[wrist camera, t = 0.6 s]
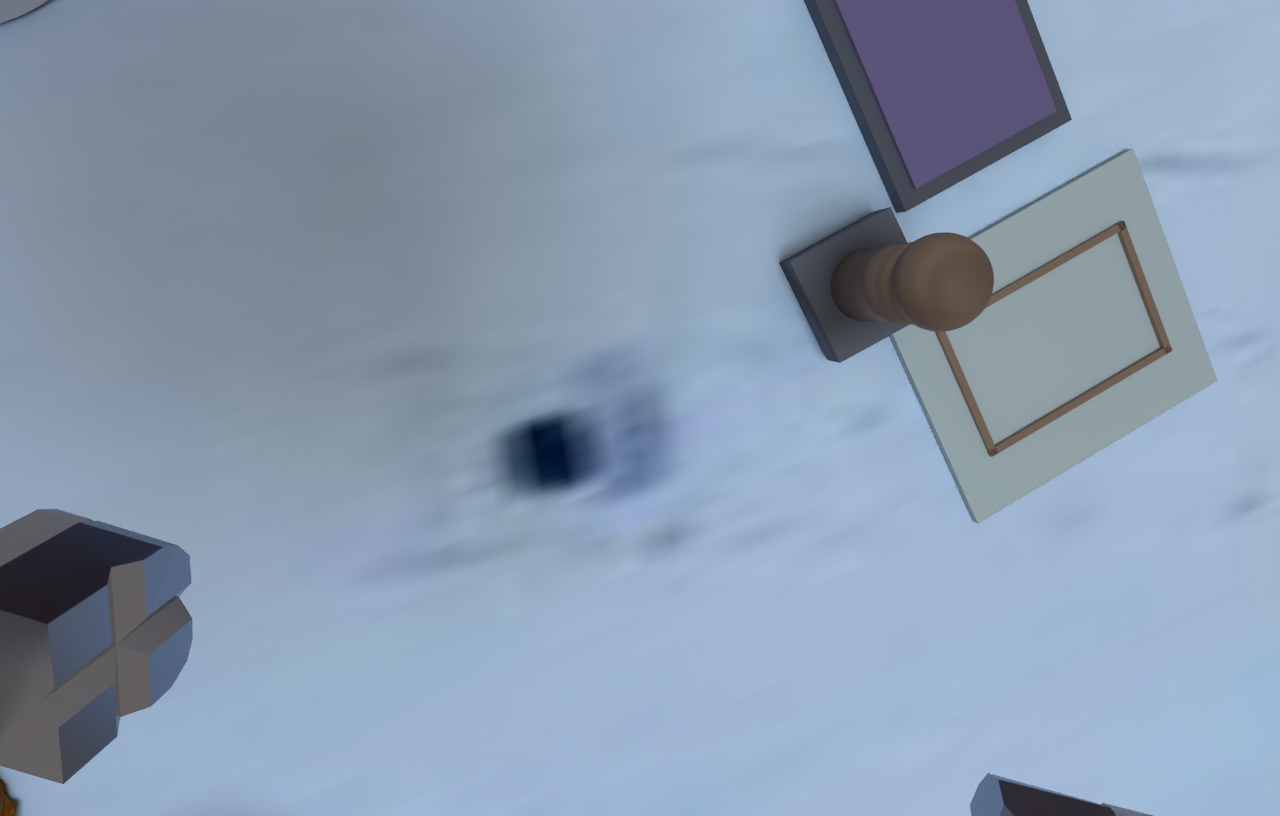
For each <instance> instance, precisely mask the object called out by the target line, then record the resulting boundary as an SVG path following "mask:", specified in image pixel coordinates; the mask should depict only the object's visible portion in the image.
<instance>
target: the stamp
mask: <svg viewBox="0 0 1280 816" xmlns="http://www.w3.org/2000/svg"><path fill="white" fill-rule="evenodd" d="M780 265H781V267H782V269H783V271H784V273H785V275H786V277H787V279H788V281H789V283H790V285H791V287H792V289H793V291H794V293H795V295H796V297H797V299H798V301H799V303H800V305H801V308H802V310H803V312H804V314H805V316H806V318H807V320H808V322H809V324H810V326H811V328H812V330H813V332H814V334H815V336H816V338H817V340H818V342H819V344H820V346H821V348H822V350H823V352H824V354H825V356H826V358H827V360H830V361H835V362H839V363H840V362H842V361H844V360H846V359H848V358H849V357H851V356H853V355H855V354H857V353H859V352H860V351H862V350H864V349H866V348H868V347H870V346H871V345H873V344H875V343H877V342H879V341H881V340H882V339H884V338H886V337H888V336H890V335H892V334H893V333H895V332H897V331H899V330H901V329H903V328H904V327H906V326H908V325H915V326H917V327H919V328H922V329H925V330H929V331H935V332H944V331H951V330H955V329H958V328H961V327H963V326H965V325H967V324H969V323H970V322H972V321H973V320H974V319H976V318H977V317H978V316H979V315H980V314H981V313H982V312H983V310H984V309H985V308H986V306H987V304H988V302H989V300H990V298H991V295H992V292H993V287H994V273H993V268H992V265H991V262H990V260H989V258H988V256H987V254H986V253H985V252H984V250H983V249H982V248H981V247H980V246H979V245H978V244H976V243H975V242H974V241H972V240H971V239H969V238H967V237H965V236H962V235H959V234H955V233H934V234H930V235H927V236H924V237H922V238H920V239H918V240H916V241H914V242H911V243H907V241H906V239H905V237H904V235H903V233H902V231H901V229H900V227H899V224H898V222H897V220H896V218H895V216H894V214H893V212H892V209H891V207H889V208H885V209H882V210H878V211H875V212H873V213H871V214H869V215H868V216H866V217H864V218H862V219H860V220H858V221H856V222H855V223H853V224H851V225H849V226H847V227H845V228H843V229H842V230H840V231H838V232H836V233H834V234H832V235H830V236H829V237H827V238H825V239H823V240H821V241H819V242H818V243H816V244H814V245H812V246H810V247H808V248H806V249H805V250H803V251H801V252H799V253H797V254H795V255H793V256H792V257H790V258H788V259H786V260H784V261H782V262H780Z"/></svg>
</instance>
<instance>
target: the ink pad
mask: <svg viewBox="0 0 1280 816" xmlns="http://www.w3.org/2000/svg"><path fill="white" fill-rule="evenodd" d="M804 1H805V3H806V6H807V8H808V10H809V12H810V15H811V17H812V19H813V22H814V24H815V26H816V29H817V31H818V33H819V35H820V38H821V40H822V42H823V45H824V47H825V49H826V52H827V54H828V56H829V59H830V61H831V63H832V65H833V68H834V70H835V72H836V75H837V77H838V79H839V82H840V84H841V86H842V88H843V91H844V93H845V95H846V98H847V100H848V102H849V105H850V107H851V109H852V112H853V114H854V116H855V118H856V121H857V123H858V125H859V128H860V130H861V132H862V135H863V137H864V139H865V141H866V144H867V146H868V148H869V151H870V153H871V155H872V158H873V160H874V162H875V165H876V167H877V169H878V171H879V174H880V176H881V178H882V181H883V183H884V185H885V188H886V190H887V192H888V194H889V197H890V199H891V201H892V204H893V206H894V208H895V211H896V213H898V212H905V211H907V210H909V209H911V208H913V207H915V206H917V205H918V204H920V203H922V202H924V201H926V200H927V199H929V198H931V197H933V196H935V195H936V194H938V193H940V192H942V191H944V190H945V189H947V188H949V187H951V186H953V185H955V184H956V183H958V182H960V181H962V180H964V179H965V178H967V177H969V176H971V175H973V174H974V173H976V172H978V171H980V170H982V169H983V168H985V167H987V166H989V165H991V164H992V163H994V162H996V161H998V160H1000V159H1002V158H1003V157H1005V156H1007V155H1009V154H1011V153H1012V152H1014V151H1016V150H1018V149H1020V148H1021V147H1023V146H1025V145H1027V144H1029V143H1030V142H1032V141H1034V140H1036V139H1038V138H1039V137H1041V136H1043V135H1045V134H1047V133H1049V132H1050V131H1052V130H1054V129H1056V128H1058V127H1059V126H1061V125H1063V124H1065V123H1067V122H1068V121H1070V120H1072V119H1071V116H1070V114H1069V111H1068V108H1067V106H1066V103H1065V100H1064V98H1063V95H1062V92H1061V90H1060V87H1059V84H1058V82H1057V79H1056V76H1055V74H1054V71H1053V68H1052V66H1051V63H1050V61H1049V58H1048V55H1047V53H1046V50H1045V47H1044V45H1043V42H1042V39H1041V37H1040V34H1039V31H1038V29H1037V26H1036V23H1035V21H1034V18H1033V15H1032V13H1031V10H1030V7H1029V5H1028V2H1027V0H804Z"/></svg>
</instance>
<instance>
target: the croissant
mask: <svg viewBox="0 0 1280 816" xmlns="http://www.w3.org/2000/svg"><path fill="white" fill-rule="evenodd" d="M14 812H15V803H12V801H11V800H10V799H8V798H7V795H4V784H3V781H2V780H1V779H0V816H14Z"/></svg>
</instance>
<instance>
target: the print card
mask: <svg viewBox="0 0 1280 816" xmlns="http://www.w3.org/2000/svg"><path fill="white" fill-rule="evenodd" d="M969 239H971V240H972V241H974V242H975V243H976V244H978V245H979V246H980V247H981V248H982V249H983V250H984V252H985V253H986V254H987V256H988V258H989V260H990V262H991V265H992V268H993V273H994V287H993V292H992V295H991V298H990V300H989V302H988V304H987V306H986V308H985V309H984V310H983V312H982V313H981V314H980V315H979V316H978V317H977V318H976V319H974V320H973V321H972V322H970V323H969V324H967V325H965V326H963V327H961V328H958V329H955V330H951V331H944V332H935V331H929V330H925V329H922V328H919V327H917V326H915V325H908V326H906V327H904V328H903V329H901V330H899V331H897V332H895V333H893V334H892V335H890V338H891V341H892V343H893V345H894V347H895V349H896V352H897V354H898V356H899V358H900V361H901V363H902V365H903V367H904V369H905V372H906V374H907V376H908V378H909V380H910V383H911V385H912V387H913V389H914V392H915V394H916V396H917V398H918V400H919V403H920V405H921V407H922V409H923V412H924V414H925V416H926V418H927V420H928V423H929V425H930V427H931V429H932V431H933V434H934V436H935V438H936V440H937V443H938V445H939V447H940V449H941V451H942V454H943V456H944V458H945V460H946V463H947V465H948V467H949V469H950V471H951V474H952V476H953V478H954V480H955V482H956V485H957V487H958V489H959V491H960V494H961V496H962V498H963V500H964V502H965V505H966V507H967V509H968V511H969V514H970V516H971V518H972V520H973V521H974V522H976V523H980V522H981V521H983V520H985V519H986V518H988V517H990V516H991V515H993V514H995V513H997V512H998V511H1000V510H1002V509H1003V508H1005V507H1007V506H1008V505H1010V504H1012V503H1013V502H1015V501H1017V500H1018V499H1020V498H1022V497H1023V496H1025V495H1027V494H1028V493H1030V492H1032V491H1033V490H1035V489H1037V488H1038V487H1040V486H1042V485H1043V484H1045V483H1047V482H1048V481H1050V480H1052V479H1053V478H1055V477H1057V476H1059V475H1060V474H1062V473H1064V472H1065V471H1067V470H1069V469H1070V468H1072V467H1074V466H1075V465H1077V464H1079V463H1080V462H1082V461H1084V460H1085V459H1087V458H1089V457H1090V456H1092V455H1094V454H1095V453H1097V452H1099V451H1100V450H1102V449H1104V448H1105V447H1107V446H1109V445H1110V444H1112V443H1114V442H1116V441H1117V440H1119V439H1121V438H1122V437H1124V436H1126V435H1127V434H1129V433H1131V432H1132V431H1134V430H1136V429H1137V428H1139V427H1141V426H1142V425H1144V424H1146V423H1147V422H1149V421H1151V420H1152V419H1154V418H1156V417H1157V416H1159V415H1161V414H1162V413H1164V412H1166V411H1167V410H1169V409H1171V408H1172V407H1174V406H1176V405H1178V404H1179V403H1181V402H1183V401H1184V400H1186V399H1188V398H1189V397H1191V396H1193V395H1194V394H1196V393H1198V392H1199V391H1201V390H1203V389H1204V388H1206V387H1208V386H1209V385H1211V384H1213V383H1214V382H1216V381H1217V379H1216V376H1215V373H1214V370H1213V368H1212V365H1211V362H1210V359H1209V357H1208V354H1207V351H1206V348H1205V346H1204V343H1203V340H1202V337H1201V335H1200V332H1199V329H1198V326H1197V324H1196V321H1195V318H1194V315H1193V313H1192V310H1191V307H1190V304H1189V302H1188V299H1187V296H1186V293H1185V291H1184V288H1183V285H1182V282H1181V280H1180V277H1179V274H1178V271H1177V269H1176V266H1175V263H1174V260H1173V258H1172V255H1171V252H1170V249H1169V247H1168V244H1167V241H1166V238H1165V236H1164V233H1163V230H1162V227H1161V224H1160V222H1159V219H1158V216H1157V213H1156V211H1155V208H1154V205H1153V202H1152V200H1151V197H1150V194H1149V191H1148V189H1147V186H1146V183H1145V180H1144V178H1143V175H1142V172H1141V169H1140V167H1139V164H1138V161H1137V158H1136V156H1135V153H1134V150H1133V149H1128V150H1125V151H1123V152H1121V153H1119V154H1118V155H1116V156H1114V157H1112V158H1111V159H1109V160H1107V161H1105V162H1103V163H1102V164H1100V165H1098V166H1096V167H1095V168H1093V169H1091V170H1089V171H1087V172H1086V173H1084V174H1082V175H1080V176H1078V177H1077V178H1075V179H1073V180H1071V181H1070V182H1068V183H1066V184H1064V185H1062V186H1061V187H1059V188H1057V189H1055V190H1054V191H1052V192H1050V193H1048V194H1046V195H1045V196H1043V197H1041V198H1039V199H1037V200H1036V201H1034V202H1032V203H1030V204H1029V205H1027V206H1025V207H1023V208H1021V209H1020V210H1018V211H1016V212H1014V213H1012V214H1011V215H1009V216H1007V217H1005V218H1004V219H1002V220H1000V221H998V222H996V223H995V224H993V225H991V226H989V227H988V228H986V229H984V230H982V231H980V232H979V233H977V234H975V235H973V236H971V237H970V238H969Z"/></svg>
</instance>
